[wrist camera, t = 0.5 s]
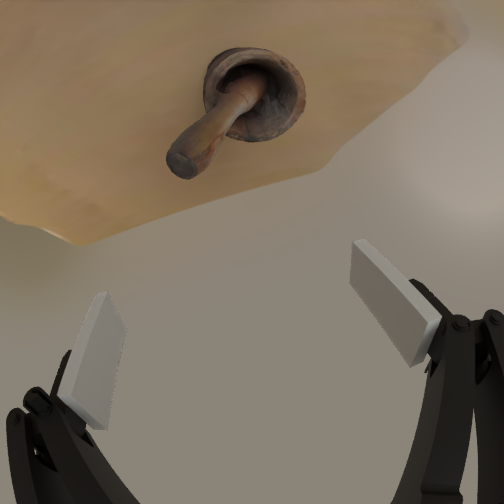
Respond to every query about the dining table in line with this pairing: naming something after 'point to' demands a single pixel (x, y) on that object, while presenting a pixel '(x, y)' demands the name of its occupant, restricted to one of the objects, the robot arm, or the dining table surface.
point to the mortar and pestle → (240, 106)
